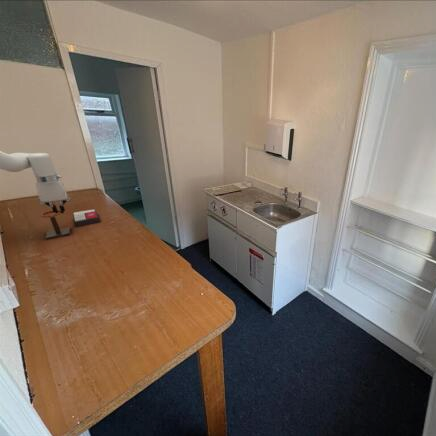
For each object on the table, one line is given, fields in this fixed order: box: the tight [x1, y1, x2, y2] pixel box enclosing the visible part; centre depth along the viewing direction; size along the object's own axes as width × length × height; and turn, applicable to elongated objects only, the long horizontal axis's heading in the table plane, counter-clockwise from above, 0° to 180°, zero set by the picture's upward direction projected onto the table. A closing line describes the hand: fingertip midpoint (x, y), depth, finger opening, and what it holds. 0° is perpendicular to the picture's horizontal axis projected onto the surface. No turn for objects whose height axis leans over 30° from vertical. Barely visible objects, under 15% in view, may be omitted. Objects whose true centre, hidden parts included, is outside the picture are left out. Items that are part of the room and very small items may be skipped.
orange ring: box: [39, 209, 62, 218], centre depth 120 cm, size 8×8×1 cm
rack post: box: [45, 216, 71, 240], centre depth 123 cm, size 9×9×10 cm
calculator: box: [72, 208, 100, 227], centre depth 141 cm, size 11×4×15 cm
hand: (59, 212), depth 122 cm, fingers closed on orange ring
